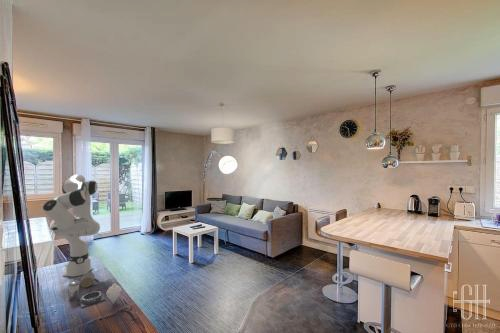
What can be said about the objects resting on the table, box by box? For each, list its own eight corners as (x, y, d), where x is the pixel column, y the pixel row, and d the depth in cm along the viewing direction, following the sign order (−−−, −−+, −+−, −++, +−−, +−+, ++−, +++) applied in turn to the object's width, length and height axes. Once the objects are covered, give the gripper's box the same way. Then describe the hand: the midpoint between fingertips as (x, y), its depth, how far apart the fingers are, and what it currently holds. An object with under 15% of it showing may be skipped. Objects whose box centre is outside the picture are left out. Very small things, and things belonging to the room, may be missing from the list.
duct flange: (78, 299, 141) (78, 294, 141) (100, 292, 149) (101, 288, 149) (81, 308, 132) (81, 303, 132) (105, 300, 141) (105, 296, 141)
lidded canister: (67, 298, 142) (68, 282, 142) (78, 295, 145) (78, 279, 146) (68, 301, 138) (69, 285, 138) (79, 298, 142) (80, 282, 142)
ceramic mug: (80, 289, 152) (80, 278, 152) (81, 284, 159) (81, 273, 159) (98, 286, 157) (99, 274, 157) (99, 280, 164) (100, 270, 164)
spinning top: (107, 301, 140) (107, 281, 140) (121, 298, 143) (122, 279, 143) (104, 308, 133) (105, 288, 133) (119, 305, 136) (120, 285, 136)
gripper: (86, 213, 141) (98, 226, 149) (51, 221, 139) (66, 234, 147) (83, 221, 136) (95, 234, 145) (47, 230, 134) (62, 242, 143)
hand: (80, 234), depth 146 cm, fingers open, 8 cm apart
